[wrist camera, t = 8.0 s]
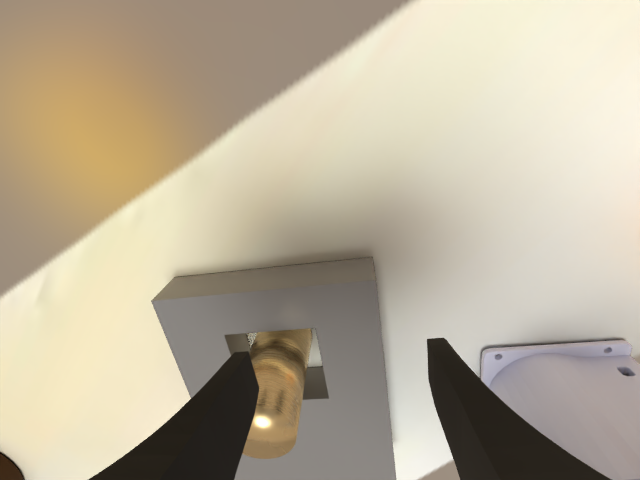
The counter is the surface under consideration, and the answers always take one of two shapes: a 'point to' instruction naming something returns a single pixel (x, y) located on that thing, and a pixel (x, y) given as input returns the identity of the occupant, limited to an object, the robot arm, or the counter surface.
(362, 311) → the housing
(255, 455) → the pin
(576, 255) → the counter surface
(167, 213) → the counter surface
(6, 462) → the olive oil
